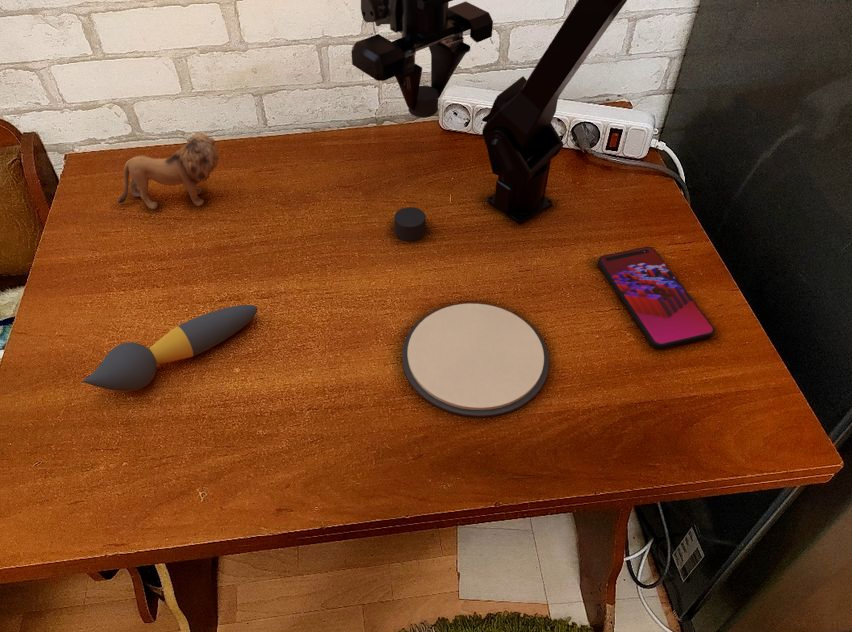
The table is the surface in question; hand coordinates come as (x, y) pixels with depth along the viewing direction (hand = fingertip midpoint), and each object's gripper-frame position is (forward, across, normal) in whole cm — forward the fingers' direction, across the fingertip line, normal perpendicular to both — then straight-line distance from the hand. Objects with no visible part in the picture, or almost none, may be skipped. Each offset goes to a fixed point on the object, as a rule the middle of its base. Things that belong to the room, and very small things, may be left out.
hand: (423, 102), depth 92 cm
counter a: (+1, 0, 0) cm, 1 cm away
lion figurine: (+9, +31, -15) cm, 36 cm away
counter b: (+9, +11, +11) cm, 18 cm away
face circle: (+9, +19, +32) cm, 38 cm away
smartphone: (+9, -3, +38) cm, 40 cm away
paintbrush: (+9, +44, +11) cm, 46 cm away
